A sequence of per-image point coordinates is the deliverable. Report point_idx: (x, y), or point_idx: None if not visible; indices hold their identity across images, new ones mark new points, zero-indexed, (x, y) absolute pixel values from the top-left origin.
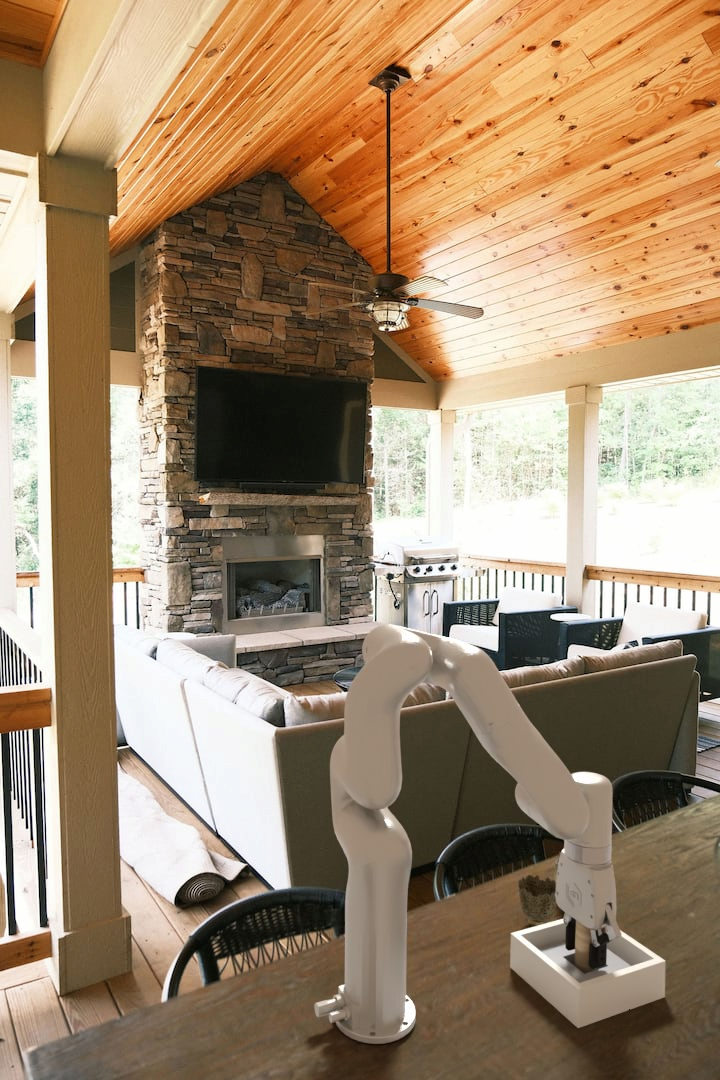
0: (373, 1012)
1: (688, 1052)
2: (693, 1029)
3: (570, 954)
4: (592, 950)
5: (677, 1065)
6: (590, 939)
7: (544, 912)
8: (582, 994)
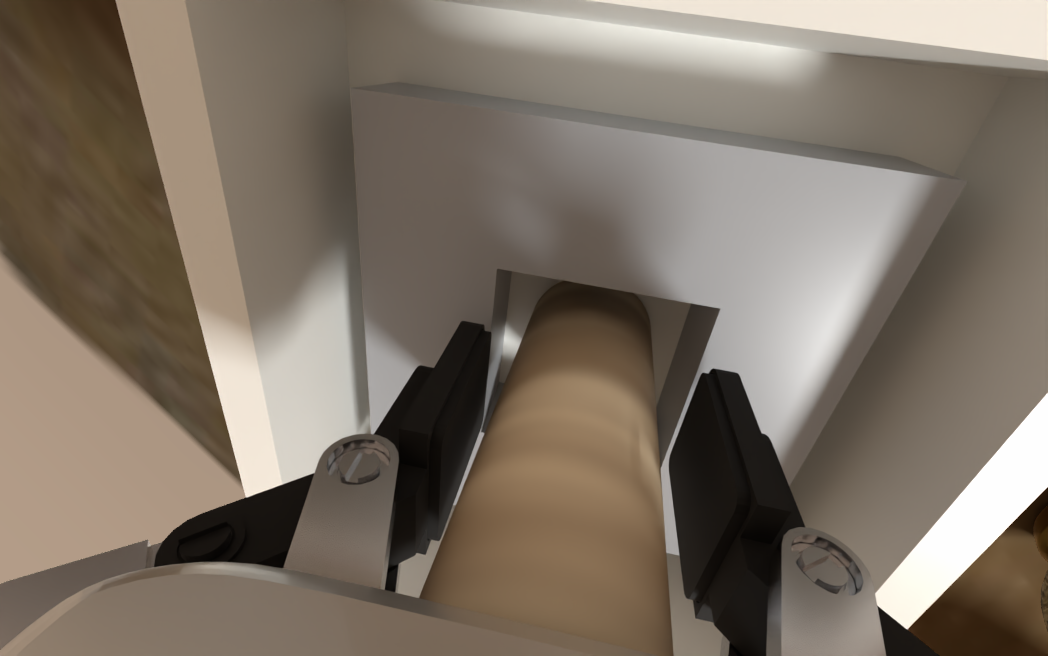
0: None
1: (79, 270)
2: (187, 387)
3: (698, 367)
4: (416, 403)
5: (9, 169)
6: (467, 487)
7: None
8: None
